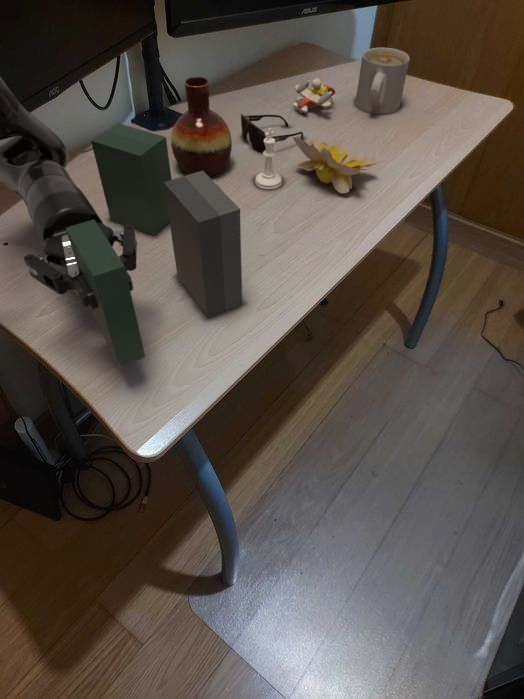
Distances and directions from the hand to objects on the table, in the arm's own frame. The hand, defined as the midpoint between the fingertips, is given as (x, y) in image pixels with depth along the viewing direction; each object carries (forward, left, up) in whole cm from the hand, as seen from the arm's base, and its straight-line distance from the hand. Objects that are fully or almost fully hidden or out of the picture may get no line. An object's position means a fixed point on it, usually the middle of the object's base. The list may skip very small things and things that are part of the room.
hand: (110, 296), depth 57 cm
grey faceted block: (+13, +11, -13) cm, 21 cm away
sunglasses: (+37, +51, -13) cm, 64 cm away
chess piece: (+31, +36, -13) cm, 49 cm away
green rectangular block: (+7, +32, -13) cm, 35 cm away
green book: (0, +1, -8) cm, 8 cm away
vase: (+21, +45, -13) cm, 51 cm away
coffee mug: (+64, +58, -13) cm, 88 cm away
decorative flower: (+43, +33, -13) cm, 56 cm away
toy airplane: (+50, +61, -13) cm, 80 cm away
